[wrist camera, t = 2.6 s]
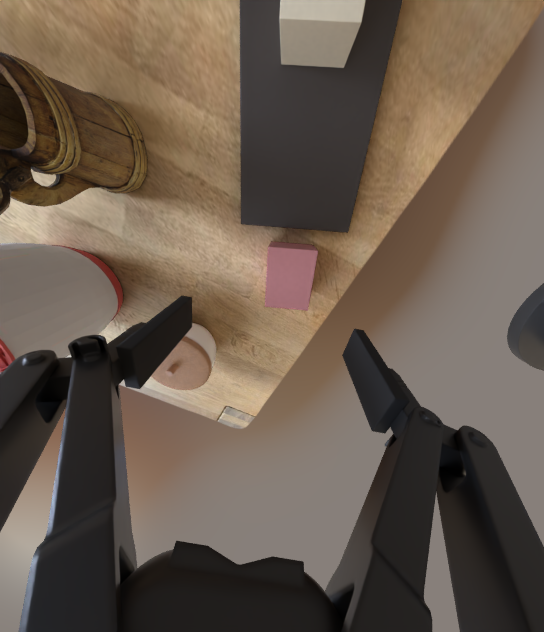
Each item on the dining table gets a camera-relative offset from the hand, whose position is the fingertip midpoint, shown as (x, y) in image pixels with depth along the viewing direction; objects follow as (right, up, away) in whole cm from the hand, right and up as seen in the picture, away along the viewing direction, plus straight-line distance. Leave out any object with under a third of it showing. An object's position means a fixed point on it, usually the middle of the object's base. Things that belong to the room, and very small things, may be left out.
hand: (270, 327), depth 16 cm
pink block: (+3, +8, +14) cm, 16 cm away
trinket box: (-14, -3, +21) cm, 25 cm away
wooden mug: (-20, +20, +9) cm, 30 cm away
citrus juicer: (-31, +6, +18) cm, 36 cm away
